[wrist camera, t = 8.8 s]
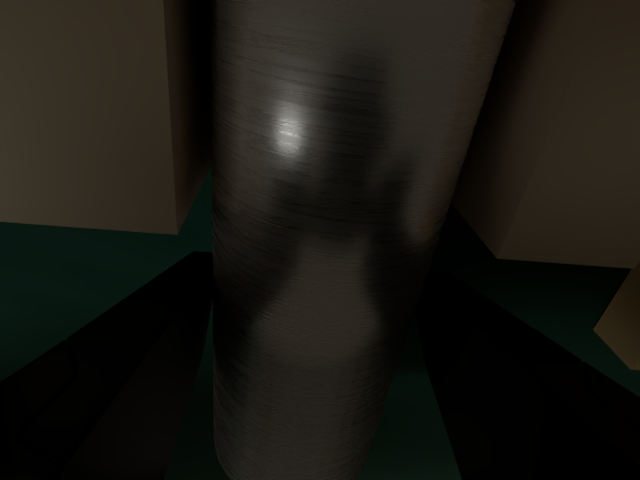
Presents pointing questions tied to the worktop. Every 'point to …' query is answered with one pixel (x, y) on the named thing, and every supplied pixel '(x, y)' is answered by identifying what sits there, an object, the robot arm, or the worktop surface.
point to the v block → (624, 321)
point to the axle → (330, 211)
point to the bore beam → (195, 124)
